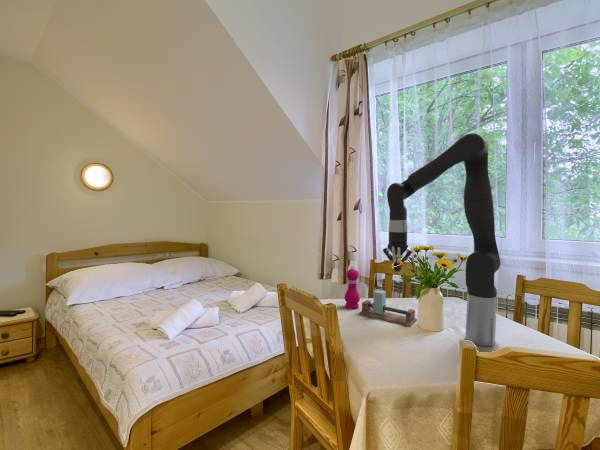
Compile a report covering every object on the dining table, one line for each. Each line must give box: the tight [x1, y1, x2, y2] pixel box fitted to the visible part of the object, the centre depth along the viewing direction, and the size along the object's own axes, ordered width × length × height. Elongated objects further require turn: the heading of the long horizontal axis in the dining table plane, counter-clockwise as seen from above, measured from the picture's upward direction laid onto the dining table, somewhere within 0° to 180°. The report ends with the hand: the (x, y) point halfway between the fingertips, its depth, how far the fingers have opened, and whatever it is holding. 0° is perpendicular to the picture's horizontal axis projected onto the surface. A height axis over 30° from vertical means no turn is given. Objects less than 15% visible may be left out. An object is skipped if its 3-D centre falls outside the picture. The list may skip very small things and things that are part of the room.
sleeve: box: [372, 289, 387, 315], centre depth 143 cm, size 4×4×9 cm
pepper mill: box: [344, 266, 361, 310], centre depth 155 cm, size 7×7×20 cm
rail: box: [358, 299, 418, 327], centre depth 141 cm, size 23×8×5 cm, turn 53°
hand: (397, 271), depth 138 cm, fingers closed
